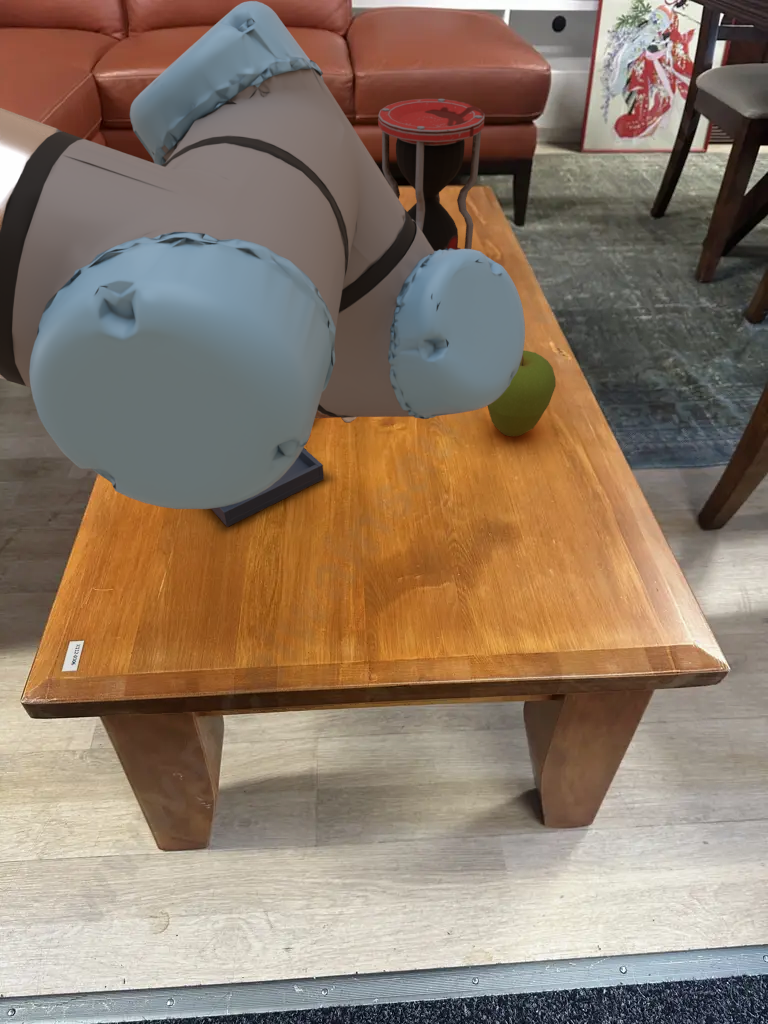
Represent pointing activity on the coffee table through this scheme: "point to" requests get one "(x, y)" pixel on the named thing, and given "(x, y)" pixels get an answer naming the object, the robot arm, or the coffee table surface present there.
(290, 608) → the coffee table surface
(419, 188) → the hourglass
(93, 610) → the coffee table surface
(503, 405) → the apple
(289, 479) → the display tray
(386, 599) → the coffee table surface
